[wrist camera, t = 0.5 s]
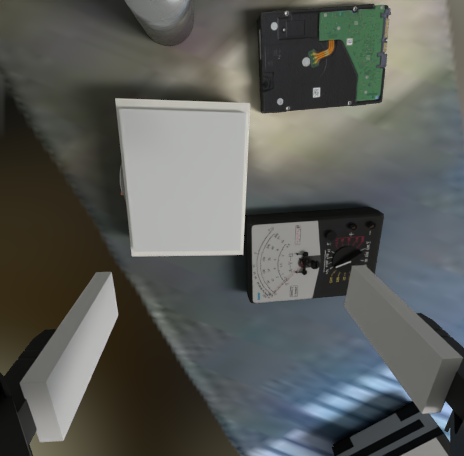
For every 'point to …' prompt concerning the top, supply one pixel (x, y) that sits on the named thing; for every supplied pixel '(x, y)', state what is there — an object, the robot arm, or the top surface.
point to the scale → (184, 175)
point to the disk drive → (322, 57)
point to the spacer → (164, 19)
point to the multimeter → (309, 252)
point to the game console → (397, 437)
